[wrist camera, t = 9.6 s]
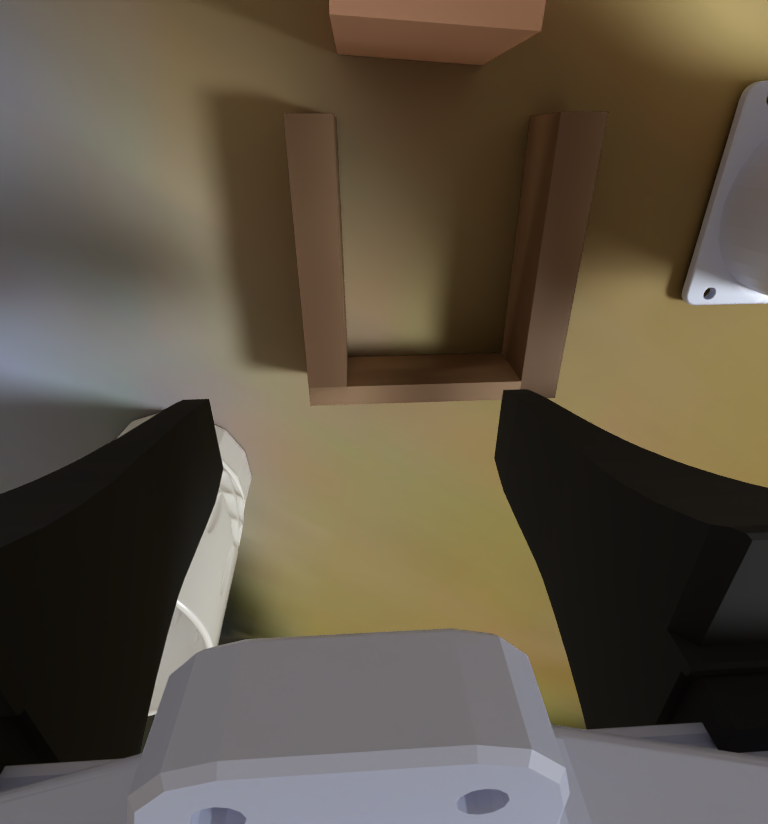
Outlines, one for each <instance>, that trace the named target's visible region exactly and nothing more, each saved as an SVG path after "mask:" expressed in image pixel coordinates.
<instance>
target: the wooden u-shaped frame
mask: <svg viewBox="0 0 768 824" xmlns="http://www.w3.org/2000/svg"><path fill="white" fill-rule="evenodd" d="M608 113H609V112H557V113H550V114H543V115H536V116H530V121H529V129H528V138H527V146H526V154H525V163H524V171H523V179H522V187H521V196H520V204H519V212H518V220H517V229H516V237H515V245H514V254H513V262H512V270H511V278H510V287H509V295H508V303H507V312H506V320H505V328H504V336H503V345H502V353H477V354H441V355H405V356H370V357H348V350H347V329H346V308H345V288H344V267H343V246H342V225H341V204H340V183H339V162H338V141H337V120H336V116H335V115H334V114H333V113H285V114H283V118H284V129H285V140H286V150H287V161H288V172H289V182H290V193H291V203H292V214H293V225H294V235H295V246H296V257H297V267H298V278H299V289H300V299H301V310H302V321H303V331H304V342H305V352H306V363H307V374H308V384H309V395H310V406H316V405H347V404H378V403H409V402H441V401H472V400H502V395H503V390H516V389H528V390H531V391H533V392H535V393H538V394H539V395H541V396H543V397H545V398H555V394H556V389H557V383H558V378H559V373H560V367H561V362H562V357H563V351H564V346H565V341H566V336H567V330H568V325H569V320H570V314H571V309H572V304H573V298H574V293H575V288H576V283H577V277H578V272H579V267H580V261H581V256H582V251H583V245H584V240H585V235H586V229H587V224H588V219H589V214H590V208H591V203H592V198H593V192H594V187H595V182H596V176H597V171H598V166H599V160H600V155H601V150H602V145H603V139H604V134H605V129H606V123H607V118H608Z"/></svg>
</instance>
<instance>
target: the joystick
mask: <svg viewBox="0 0 768 824" xmlns="http://www.w3.org/2000/svg"><path fill="white" fill-rule="evenodd" d="M545 5H546V0H329V15H330V20H331V25H332V30H333V35H334V40H335V45H336V51H337V54H339V55H352V56H365V57H379V58H392V59H405V60H419V61H432V62H445V63H459V64H472V65H484V64H485V63H487V62H489V61H491V60H492V59H494V58H496V57H498V56H499V55H501V54H503V53H504V52H506V51H508V50H510V49H511V48H513V47H515V46H516V45H518V44H520V43H522V42H523V41H525V40H527V39H529V38H530V37H532V36H534V35H535V34H537V33H539V32H541V28H542V23H543V17H544V11H545Z"/></svg>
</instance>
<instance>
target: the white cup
mask: <svg viewBox="0 0 768 824" xmlns="http://www.w3.org/2000/svg"><path fill="white" fill-rule="evenodd" d="M157 414H158V413H157ZM155 415H156V414H154V415H150V416H147V417H144V418H141V419H137V420H134V421H132V422H131V423H130V424H129V425H128V426H127V427H126V428H125V429H124V430H123V431H122V432H121V433H120V434H119V435H118V436H117V438H119V437H120V436H122V435H124V434H125V433H127V432H129V431H130V430H132V429H134V428H135V427H137V426H138V425H140V424H142V423H143V422H145V421H147V420H148V419H150V418H152V417H153V416H155ZM214 425H215V424H214ZM215 430H216V435H217V440H218V444H219V449H220V454H221V459H222V463H223V473H222V478H221V482H220V487H219V491H218V495H217V499H216V502H215V505H214V508H213V510H212V513H211V515H210V518H209V520H208V523H207V525H206V528H205V530H204V533H203V535H202V538H201V540H200V543H199V545H198V547H197V550H196V552H195V555H194V557H193V560H192V562H191V564H190V567H189V569H188V572H187V574H186V577H185V579H184V582H183V585H182V588H181V590H180V593H179V596H178V599H177V603H176V607H175V610H174V614H173V617H172V621H171V624H170V628H169V631H168V635H167V639H166V643H165V647H164V651H163V655H162V658H161V662H160V666H159V670H158V674H157V678H156V682H155V687H154V691H153V696H152V700H151V704H150V709H149V713H148V716H151V715H154V714H156V713H157V710H158V707H159V704H160V701H161V698H162V695H163V692H164V690H165V687H166V684H167V681H168V678H169V675H171V674H172V673H173V672H174V671H175V670H177V669H178V668H179V667H180V666H181V665H183V664H184V663H185V662H186V661H187V660H189V659H190V658H191V657H192V656H194V655H195V654H196V653H197V652H199V651H202V650H204V649H207V648H211V647H216V646H218V642H219V638H220V633H221V628H222V624H223V619H224V614H225V610H226V605H227V601H228V596H229V592H230V588H231V583H232V579H233V574H234V570H235V565H236V561H237V556H238V551H239V544H240V539H241V534H242V528H243V516H244V508H245V502H246V498H247V494H248V490H249V486H250V482H251V473H250V469H249V466H248V462H247V458H246V454H245V451H244V450H243V449H242V448H241V447H240V446H239V445H238V444H237V442H236V441H235V440H234V439H233V438H232V437H231V436H230V435H229V433H228V432H227V431H226V430H225V429H223V428H221V427H219V426H217V425H215ZM117 438H116V439H117Z"/></svg>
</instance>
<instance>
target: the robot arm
mask: <svg viewBox="0 0 768 824" xmlns="http://www.w3.org/2000/svg"><path fill="white" fill-rule="evenodd" d="M767 96H768V81H758V82H754V83H752V84H750V85H749V86H747V88H746V89H745V90H744V91H743V93H742V95H741V97H740V100H739V103H738V106H737V110H736V113H735V116H734V120H733V123H732V126H731V130H730V133H729V136H728V140H727V143H726V146H725V150H724V153H723V156H722V160H721V163H720V167H719V170H718V173H717V177H716V180H715V183H714V187H713V190H712V193H711V197H710V200H709V203H708V207H707V210H706V213H705V217H704V220H703V223H702V227H701V230H700V233H699V237H698V240H697V244H696V247H695V250H694V254H693V257H692V260H691V264H690V267H689V270H688V274H687V277H686V280H685V284H684V287H683V290H682V299H683V300H684V301H685V302H686V303H688V304H691V305H717V304H759V303H768V105H767V102H766V100H767ZM708 288H710V292H709V293H708V294H707V295H706V296H704V292H705V291H706V290H707V289H708ZM703 296H704V297H703ZM495 462H496V466H497V470H498V473H499V477H500V480H501V484H502V487H503V490H504V493H505V495H506V497H507V500H508V502H509V504H510V506H511V508H512V511H513V513H514V515H515V517H516V520H517V522H518V524H519V526H520V528H521V530H522V533H523V535H524V537H525V539H526V541H527V543H528V546H529V548H530V550H531V552H532V554H533V556H534V559H535V561H536V563H537V566H538V568H539V571H540V573H541V576H542V578H543V581H544V584H545V587H546V590H547V593H548V596H549V599H550V602H551V605H552V608H553V611H554V614H555V618H556V621H557V624H558V627H559V631H560V634H561V637H562V641H563V644H564V647H565V651H566V654H567V657H568V661H569V665H570V668H571V672H572V675H573V679H574V683H575V686H576V690H577V694H578V697H579V701H580V704H581V708H582V712H583V716H584V720H585V724H586V728H587V730H584V729H578V728H571V727H565V726H558V725H551V723H550V720H549V717H548V714H547V711H546V708H545V705H544V702H543V699H542V696H541V693H540V690H539V687H538V684H537V682H536V679H535V676H534V673H533V670H532V667H531V664H530V661H529V658H528V656H527V655H526V654H524V653H523V652H522V651H520V650H519V649H517V648H516V647H514V646H513V645H511V644H510V643H508V642H507V641H505V640H504V639H502V638H501V637H499V636H497V635H494V634H491V633H483V632H475V631H467V630H459V629H432V630H413V631H394V632H375V633H356V634H337V635H318V636H299V637H280V638H261V639H246V640H242V641H237V642H233V643H229V644H224V645H220V646H216V647H211V648H207V649H204V650H202V651H199V652H197V653H196V654H195V655H194V656H192V657H191V658H190V659H189V660H187V661H186V662H185V663H184V664H183V665H181V666H180V667H179V668H178V669H177V670H175V671H174V672H173V673H172V674H171V675H169V678H168V681H167V684H166V687H165V690H164V692H163V695H162V698H161V701H160V704H159V707H158V710H157V713H156V716H155V719H154V722H153V724H152V727H151V730H150V733H149V736H148V739H147V742H146V745H145V747H144V750H143V753H142V754H140V751H141V746H142V740H143V735H144V731H145V726H146V722H147V718H148V713H149V709H150V704H151V700H152V696H153V691H154V687H155V682H156V678H157V674H158V670H159V666H160V662H161V658H162V655H163V651H164V647H165V643H166V639H167V635H168V631H169V628H170V624H171V621H172V617H173V614H174V610H175V607H176V603H177V599H178V596H179V593H180V590H181V588H182V585H183V582H184V579H185V577H186V574H187V572H188V569H189V567H190V564H191V562H192V560H193V557H194V555H195V552H196V550H197V547H198V545H199V543H200V540H201V538H202V535H203V533H204V530H205V528H206V525H207V523H208V520H209V518H210V515H211V513H212V510H213V508H214V505H215V502H216V499H217V495H218V491H219V487H220V482H221V478H222V473H223V463H222V459H221V454H220V449H219V444H218V440H217V435H216V430H215V425H214V421H213V416H212V411H211V406H210V402H209V399H196V400H182V401H180V402H178V403H176V404H174V405H172V406H170V407H168V408H166V409H165V410H163V411H161V412H160V413H158V414H156V415H155V416H153V417H152V418H150V419H148V420H147V421H145V422H143V423H142V424H140V425H138V426H137V427H135V428H134V429H132V430H130V431H129V432H127V433H125V434H124V435H122V436H120V437H119V438H117V439H115V440H113V441H112V442H110V443H108V444H106V445H104V446H103V447H101V448H99V449H97V450H96V451H94V452H92V453H90V454H88V455H87V456H85V457H83V458H81V459H79V460H77V461H75V462H73V463H71V464H69V465H67V466H65V467H63V468H61V469H59V470H57V471H55V472H53V473H50V474H48V475H46V476H44V477H42V478H39V479H37V480H35V481H33V482H30V483H28V484H26V485H23V486H20V487H18V488H15V489H13V490H10V491H7V492H5V493H2V494H0V824H768V488H766V487H762V486H758V485H754V484H749V483H745V482H742V481H738V480H734V479H731V478H727V477H724V476H720V475H717V474H714V473H711V472H707V471H704V470H701V469H698V468H695V467H692V466H688V465H685V464H683V463H680V462H677V461H674V460H671V459H669V458H666V457H664V456H661V455H659V454H656V453H654V452H651V451H649V450H646V449H644V448H641V447H639V446H637V445H634V444H632V443H630V442H628V441H625V440H623V439H621V438H619V437H617V436H615V435H613V434H611V433H609V432H607V431H605V430H603V429H601V428H599V427H597V426H595V425H593V424H592V423H590V422H588V421H586V420H584V419H582V418H581V417H579V416H577V415H575V414H573V413H572V412H570V411H568V410H566V409H565V408H563V407H561V406H559V405H558V404H556V403H554V402H552V401H551V400H549V399H547V398H545V397H543V396H541V395H539V394H538V393H535V392H533V391H531V390H528V389H516V390H503V395H502V403H501V411H500V419H499V426H498V434H497V442H496V450H495Z"/></svg>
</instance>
